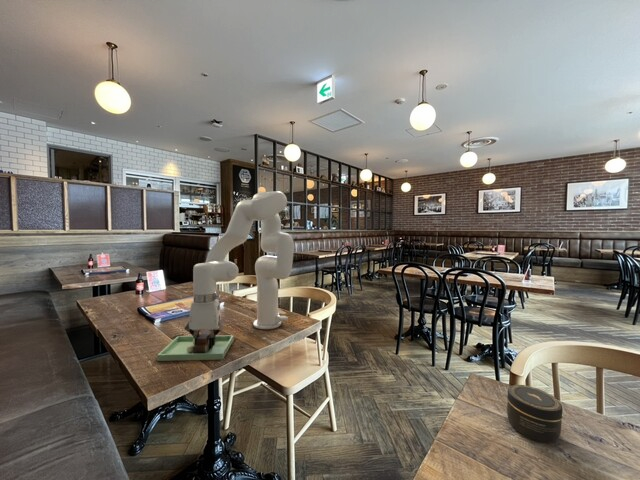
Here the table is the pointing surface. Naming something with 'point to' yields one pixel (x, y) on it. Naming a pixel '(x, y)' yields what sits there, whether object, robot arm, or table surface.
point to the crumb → (189, 349)
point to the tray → (178, 351)
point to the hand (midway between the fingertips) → (205, 346)
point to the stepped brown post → (202, 343)
